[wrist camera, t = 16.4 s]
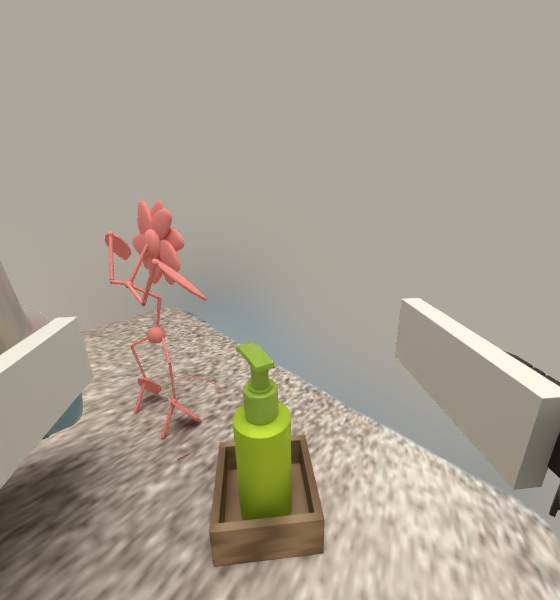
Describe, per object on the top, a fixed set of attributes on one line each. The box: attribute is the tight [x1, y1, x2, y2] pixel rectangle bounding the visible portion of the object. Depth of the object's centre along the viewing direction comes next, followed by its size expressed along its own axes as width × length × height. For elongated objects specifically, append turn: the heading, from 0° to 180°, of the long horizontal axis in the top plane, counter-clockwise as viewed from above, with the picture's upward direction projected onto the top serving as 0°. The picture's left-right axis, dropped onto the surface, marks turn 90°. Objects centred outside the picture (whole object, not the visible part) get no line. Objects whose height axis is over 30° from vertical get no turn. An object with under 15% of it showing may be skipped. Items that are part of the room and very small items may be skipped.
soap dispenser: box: [233, 342, 292, 521], centre depth 33 cm, size 6×7×20 cm
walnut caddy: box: [209, 435, 324, 566], centre depth 36 cm, size 11×11×5 cm
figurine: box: [105, 200, 226, 460], centre depth 49 cm, size 15×26×35 cm, turn 49°
